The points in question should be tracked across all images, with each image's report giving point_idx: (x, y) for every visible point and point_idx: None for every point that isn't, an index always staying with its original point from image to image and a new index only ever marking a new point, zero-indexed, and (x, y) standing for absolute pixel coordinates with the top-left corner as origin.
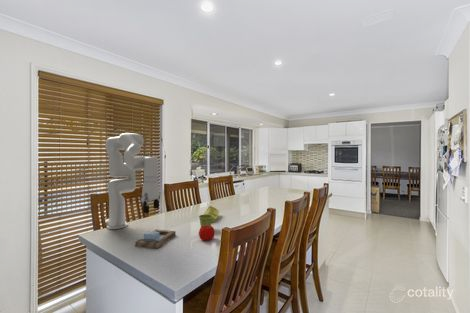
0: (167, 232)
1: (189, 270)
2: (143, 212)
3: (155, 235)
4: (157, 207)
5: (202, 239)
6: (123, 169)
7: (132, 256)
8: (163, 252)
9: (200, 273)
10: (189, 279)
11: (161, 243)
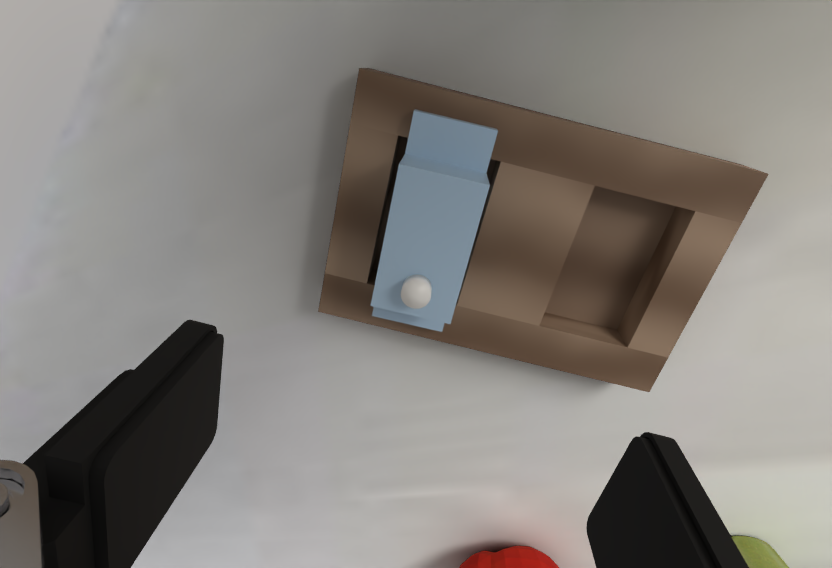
0: (636, 322)
1: None
2: (191, 324)
3: (372, 301)
4: (600, 531)
5: (463, 562)
6: None
7: (161, 137)
8: (269, 349)
9: None
10: None
11: None
